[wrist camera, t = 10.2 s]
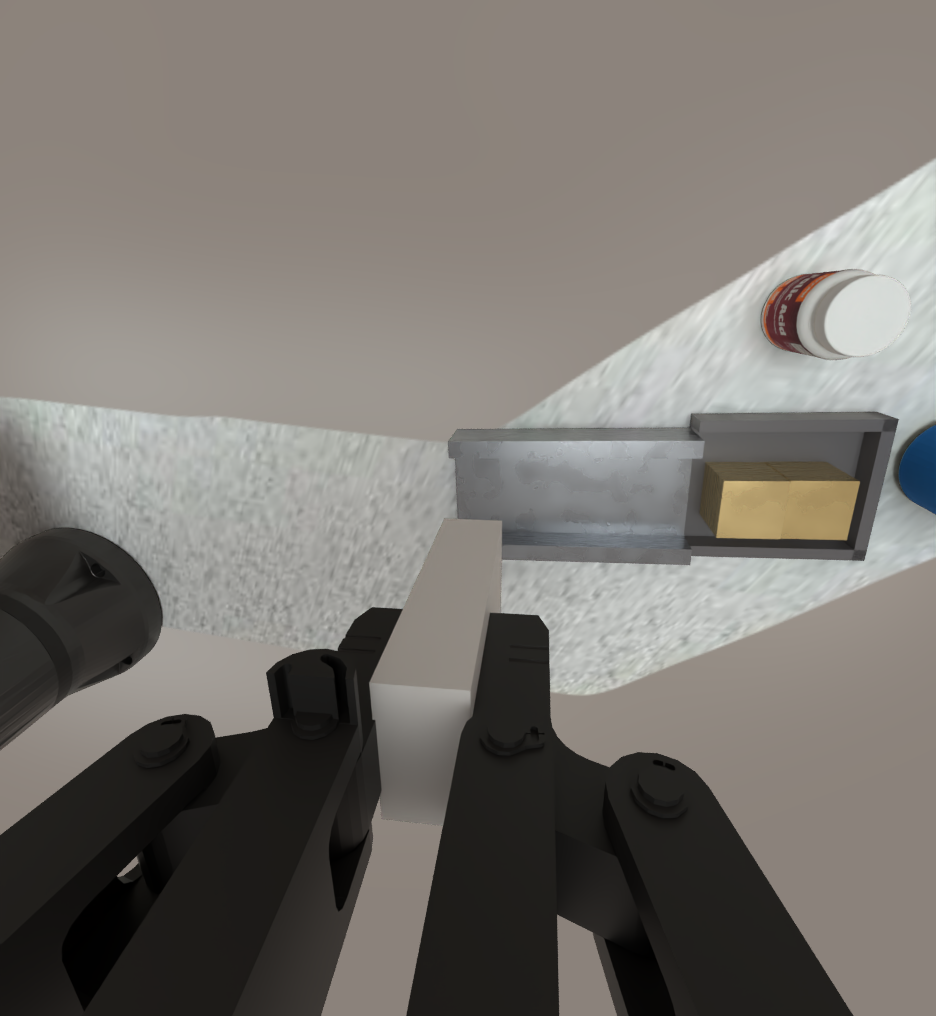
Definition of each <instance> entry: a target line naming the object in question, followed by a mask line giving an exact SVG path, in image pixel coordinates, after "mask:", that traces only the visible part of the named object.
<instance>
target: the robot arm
mask: <svg viewBox="0 0 936 1016" xmlns="http://www.w3.org/2000/svg"><path fill="white" fill-rule="evenodd" d="M501 564H502V521H498V520H472V519H445V518H444V521H443V523H442V525H441V527H440V529H439V532H438V534H437V536H436V538H435V540H434V542H433V545H432V547H431V549H430V551H429V553H428V556H427V558H426V560H425V562H424V564H423V567H422V569H421V571H420V573H419V575H418V577H417V580H416V582H415V584H414V586H413V588H412V591H411V593H410V595H409V597H408V599H407V601H406V604H405V606H404V608H403V609H392V608H376V607H372V608H370V609H369V610H367V611H366V612H365V613H363V614H362V615H361V616H359V617H358V618H357V619H355V620H354V622H353V623H352V625H351V627H350V629H349V630H348V632H347V634H346V637H345V638H344V639H343V640H342V642H341V644H340V645H339V647H338V651H334V650H330V649H313V650H306V651H303V652H299V653H296V654H292V655H290V656H288V657H286V658H284V659H282V660H281V661H279V662H277V663H276V664H275V665H274V666H273V667H272V668H271V669H269V670H268V671H267V672H266V675H267V680H268V687H269V692H270V698H271V704H272V710H273V716H274V718H273V720H272V722H271V723H270V725H269V726H268V728H266V729H262V730H258V731H253V732H248V733H242V734H236V735H230V736H223V737H217V738H215V734H214V731H213V728H212V725H211V723H210V722H209V721H208V720H206V719H204V718H203V717H201V716H197V715H189V714H182V715H175V716H169V717H165V718H163V719H160V720H157V721H154V722H152V723H149V724H147V725H145V726H144V727H142V728H141V729H139V730H137V731H136V732H134V733H132V734H131V735H129V736H128V737H127V738H125V739H124V740H123V741H121V742H120V743H119V744H118V745H116V746H115V747H114V748H112V749H111V750H110V751H108V752H107V753H106V754H105V755H103V756H102V757H101V758H99V759H98V760H97V761H96V762H94V763H93V764H92V765H90V766H89V767H88V768H86V769H85V770H84V771H83V772H81V773H80V774H79V775H77V776H76V777H75V778H74V779H72V780H71V781H70V782H68V783H67V784H66V785H65V786H63V787H62V788H61V789H59V790H58V791H57V792H56V793H54V794H53V795H52V796H50V797H49V798H48V799H46V800H45V801H44V802H42V803H41V804H40V805H39V806H37V807H36V808H35V809H33V810H32V811H31V812H30V813H28V814H27V815H26V816H25V817H23V818H22V819H20V820H19V821H18V822H17V823H15V824H14V825H13V826H11V827H10V828H9V829H8V830H6V831H5V832H4V833H3V834H1V835H0V1016H321V1013H322V1010H323V1007H324V1004H325V1001H326V997H327V994H328V991H329V987H330V984H331V981H332V978H333V975H334V971H335V968H336V965H337V961H338V958H339V955H340V952H341V949H342V945H343V942H344V939H345V936H346V932H347V929H348V926H349V922H350V920H351V916H352V913H353V910H354V907H355V903H356V900H357V897H358V894H359V890H360V887H361V884H362V881H363V878H364V874H365V871H366V868H367V865H368V861H369V858H370V855H371V851H372V842H373V833H372V824H371V821H372V818H373V815H374V812H375V809H376V806H377V803H378V800H379V797H380V806H381V816H382V819H386V820H395V821H405V822H414V823H423V824H432V825H441V826H443V829H442V834H441V839H440V844H439V850H438V855H437V860H436V865H435V871H434V875H433V881H432V886H431V891H430V896H429V901H428V906H427V912H426V917H425V922H424V927H423V932H422V938H421V943H420V948H419V953H418V958H417V963H416V968H415V974H414V979H413V984H412V989H411V995H410V999H409V1005H408V1010H407V1016H559V991H558V990H559V989H558V988H559V987H558V946H557V945H558V941H557V915H559V916H561V917H563V918H565V919H567V920H569V921H571V922H573V923H575V924H577V925H579V926H582V927H583V928H585V929H587V930H589V931H591V932H593V936H594V940H595V943H596V946H597V950H598V953H599V956H600V960H601V963H602V966H603V970H604V973H605V977H606V979H607V983H608V987H609V990H610V993H611V997H612V1000H613V1003H614V1006H615V1010H616V1013H617V1016H853V1014H852V1013H851V1012H850V1010H849V1009H848V1007H847V1005H846V1003H845V1002H844V1000H843V999H842V997H841V996H840V994H839V992H838V991H837V989H836V988H835V986H834V984H833V983H832V981H831V980H830V978H829V977H828V975H827V973H826V972H825V970H824V969H823V967H822V965H821V964H820V962H819V961H818V959H817V958H816V956H815V954H814V953H813V952H812V950H811V948H810V946H809V945H808V943H807V942H806V940H805V939H804V937H803V935H802V934H801V932H800V931H799V929H798V927H797V926H796V924H795V923H794V921H793V920H792V918H791V916H790V915H789V913H788V912H787V910H786V908H785V907H784V905H783V904H782V902H781V901H780V899H779V897H778V896H777V894H776V893H775V891H774V890H773V888H772V886H771V885H770V884H769V882H768V880H767V878H766V877H765V875H764V874H763V872H762V870H761V869H760V867H759V866H758V864H757V863H756V861H755V859H754V858H753V856H752V855H751V853H750V852H749V850H748V848H747V847H746V845H745V844H744V842H743V840H742V839H741V837H740V836H739V834H738V833H737V831H736V829H735V828H734V826H733V825H732V823H731V821H730V820H729V818H728V817H727V815H726V814H725V812H724V810H723V809H722V807H721V806H720V804H719V802H718V801H717V799H716V798H715V796H714V795H713V793H712V791H711V790H710V788H709V787H708V786H707V785H706V783H705V782H704V781H703V780H702V779H701V778H700V777H699V776H698V774H697V773H696V772H695V771H693V770H692V769H690V768H689V767H687V766H686V765H684V764H682V763H681V762H679V761H678V760H675V759H672V758H669V757H667V756H664V755H661V754H658V753H642V752H637V753H634V754H630V755H627V756H623V757H621V758H620V759H619V760H618V761H616V762H615V763H614V764H613V765H612V766H611V767H607V766H604V765H601V764H599V763H596V762H593V761H591V760H588V759H586V758H584V757H582V756H580V755H578V754H576V753H575V752H573V751H572V750H570V749H569V748H568V747H566V746H565V745H564V744H563V743H562V741H561V740H560V739H559V738H558V737H557V735H556V733H555V731H554V729H553V728H552V723H551V718H550V668H549V630H548V629H547V627H546V626H545V624H544V623H543V621H542V620H541V619H540V617H539V616H538V615H522V614H505V613H501ZM161 625H162V616H161V608H160V604H159V600H158V597H157V595H156V592H155V590H154V588H153V586H152V584H151V582H150V581H149V579H148V577H147V576H146V575H145V573H144V572H143V570H142V569H141V568H140V567H139V566H138V565H137V563H136V562H135V561H134V560H133V559H132V558H131V557H130V556H129V555H127V554H126V553H125V552H124V551H123V550H121V549H120V548H119V547H117V546H116V545H114V544H113V543H111V542H109V541H108V540H106V539H104V538H102V537H100V536H97V535H95V534H92V533H90V532H86V531H83V530H78V529H71V528H58V529H51V530H47V531H44V532H42V533H40V534H37V535H35V536H33V537H31V538H29V539H26V540H24V541H22V542H20V543H19V544H17V545H16V546H14V547H13V548H12V549H10V550H9V551H8V552H7V553H6V554H5V555H4V556H3V557H2V558H1V559H0V751H1V750H2V749H3V748H4V747H5V746H6V745H8V744H9V743H10V742H11V741H13V740H14V739H15V738H16V737H18V736H19V735H20V734H21V733H22V732H24V731H25V730H26V729H27V728H28V727H30V726H31V725H32V724H33V723H35V722H36V721H37V720H38V719H39V718H40V717H42V716H43V715H44V714H45V713H47V712H48V711H49V710H50V709H51V708H53V707H54V706H55V705H56V704H58V703H59V702H60V701H61V700H63V699H64V698H65V697H67V696H68V695H71V694H73V693H75V692H78V691H80V690H82V689H85V688H87V687H90V686H92V685H95V684H97V683H99V682H102V681H104V680H107V679H109V678H112V677H114V676H116V675H119V674H121V673H123V672H125V671H126V670H128V669H130V668H131V667H133V666H134V665H135V664H136V663H137V662H138V661H140V660H141V659H142V658H143V657H144V656H145V655H146V654H148V653H149V652H150V651H151V650H152V648H153V647H154V646H155V644H156V642H157V640H158V638H159V635H160V632H161ZM136 856H137V859H138V862H139V863H138V864H137V865H136V866H135V867H134V868H133V869H132V870H131V871H129V872H128V873H126V874H125V875H124V876H121V877H117V875H118V874H119V873H120V872H121V871H122V870H123V869H124V868H125V867H126V866H127V865H128V864H129V863H130V862H131V861H132V860H133V859H134V858H135V857H136Z"/></svg>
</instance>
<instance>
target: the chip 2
mask: <svg viewBox="0 0 936 1016" xmlns="http://www.w3.org/2000/svg"><path fill="white" fill-rule="evenodd" d="M765 463H767V464H768V465H769V466H771V467H772V468H773V469H775V470H776V471H777V472H779V473H780V474H781V475H783V476H784V477H785V478H787V479H788V480H790V481H791V483H790V489H789V494H788V500H787V505H786V511H785V516H784V522H783V527H782V533H781V539H819V540H847V537H848V533H849V528H850V524H851V519H852V515H853V511H854V506H855V502H856V498H857V493H858V489H859V484H860V481H859V480H857V479H855V478H854V477H852V476H850V475H848V474H847V473H845V472H843V471H841V470H840V469H838V468H836V467H834V466H833V465H831V464H829V463H828V462H765Z"/></svg>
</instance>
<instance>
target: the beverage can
mask: <svg viewBox="0 0 936 1016" xmlns="http://www.w3.org/2000/svg"><path fill="white" fill-rule="evenodd" d="M898 475H899V482H900V486H901V488H902V490H903V492H904V493H905V494H906V496H907V497H908V498H909V499H910V500H912V501H913V502H914V503H916V504H918V505H920V506H921V507H923V508H925V509H927V510H929V511H931V512H932V513H934V514H936V425H934V426H932V427H930V428H929V429H927V430H925V431H924V432H923V433H921V434H920V435H919V436H918V437H917V438H916V439H915V440H914V441H913V442H912V443H911V444H910V445H909V447H908V448H907V449H906V451H905V453H904V455H903V457H902V459H901V462H900V466H899V474H898Z"/></svg>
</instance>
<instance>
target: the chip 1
mask: <svg viewBox="0 0 936 1016" xmlns="http://www.w3.org/2000/svg"><path fill="white" fill-rule="evenodd" d="M790 483H791V481H790V480H788V479H787V478H785V477H784V476H783V475H781V474H780V473H779V472H777V471H776V470H775V469H773V468H772V467H771V466H769V465H768V464H767V463H765V462H705V470H704V478H703V487H702V495H701V503H700V512H699V514H700V515H701V517H702V518H703V520H704V521H705V522H706V524H707V525H708V527H709V528H710V530H711V531H712V532H713V534H714V535H715V537H716V538H747V539H781V533H782V527H783V522H784V516H785V511H786V505H787V500H788V494H789V489H790Z"/></svg>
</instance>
